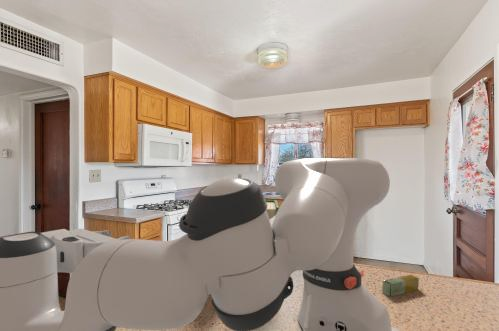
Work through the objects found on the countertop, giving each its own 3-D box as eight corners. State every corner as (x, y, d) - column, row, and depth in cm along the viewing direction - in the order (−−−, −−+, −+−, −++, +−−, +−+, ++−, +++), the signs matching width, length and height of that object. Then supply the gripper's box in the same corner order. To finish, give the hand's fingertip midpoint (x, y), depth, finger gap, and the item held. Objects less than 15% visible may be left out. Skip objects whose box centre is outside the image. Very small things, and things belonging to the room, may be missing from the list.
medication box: (389, 297, 75) (389, 283, 75) (381, 293, 78) (381, 279, 78) (418, 290, 80) (419, 277, 80) (410, 286, 82) (410, 273, 82)
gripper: (39, 255, 65) (99, 241, 76) (77, 275, 53) (141, 255, 64) (39, 229, 65) (98, 219, 76) (77, 243, 53) (140, 229, 64)
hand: (118, 236), depth 70 cm, fingers open, 8 cm apart
